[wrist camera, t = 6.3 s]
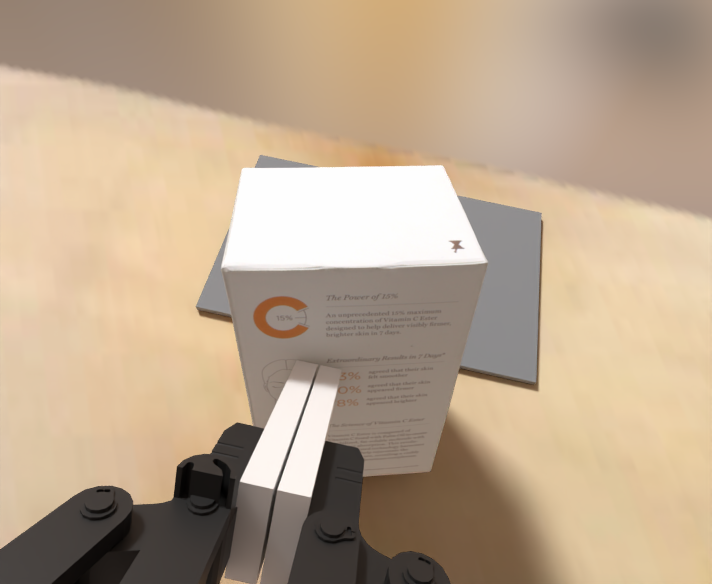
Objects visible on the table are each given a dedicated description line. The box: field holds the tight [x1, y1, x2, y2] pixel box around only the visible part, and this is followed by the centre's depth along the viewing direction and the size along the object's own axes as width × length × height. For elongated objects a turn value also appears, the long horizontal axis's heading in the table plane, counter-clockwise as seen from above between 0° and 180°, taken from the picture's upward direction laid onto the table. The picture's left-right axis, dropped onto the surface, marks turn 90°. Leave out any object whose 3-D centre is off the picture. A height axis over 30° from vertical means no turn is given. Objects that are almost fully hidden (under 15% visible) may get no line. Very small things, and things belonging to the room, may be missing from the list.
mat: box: [196, 155, 541, 385], centre depth 31 cm, size 20×12×1 cm, turn 78°
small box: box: [221, 165, 488, 477], centre depth 21 cm, size 8×6×13 cm
